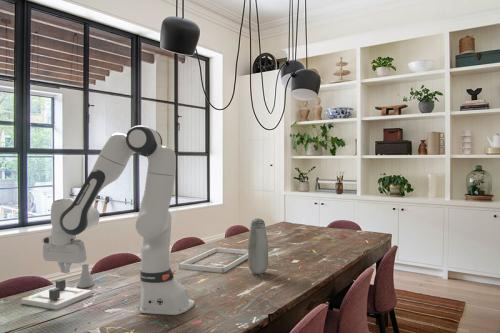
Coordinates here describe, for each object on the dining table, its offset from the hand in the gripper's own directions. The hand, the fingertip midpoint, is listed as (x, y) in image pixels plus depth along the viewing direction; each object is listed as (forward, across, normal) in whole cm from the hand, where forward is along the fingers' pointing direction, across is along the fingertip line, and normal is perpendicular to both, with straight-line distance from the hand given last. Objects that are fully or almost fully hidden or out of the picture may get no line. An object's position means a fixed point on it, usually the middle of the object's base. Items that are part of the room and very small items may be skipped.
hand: (65, 272), depth 154 cm
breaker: (+11, +14, -10) cm, 20 cm away
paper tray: (+14, -25, -84) cm, 89 cm away
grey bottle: (+15, -56, -68) cm, 90 cm away
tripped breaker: (+11, +6, 0) cm, 13 cm away
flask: (+14, +13, -23) cm, 30 cm away
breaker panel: (+13, +10, -5) cm, 18 cm away
